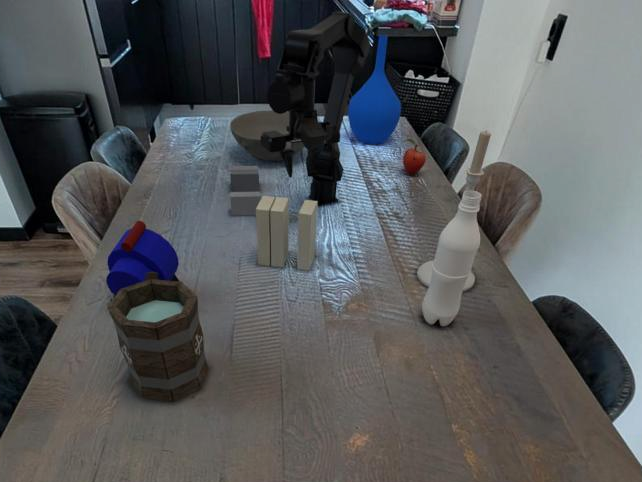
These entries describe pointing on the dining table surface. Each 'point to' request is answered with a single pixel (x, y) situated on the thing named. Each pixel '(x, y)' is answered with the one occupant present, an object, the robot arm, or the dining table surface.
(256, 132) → the bowl
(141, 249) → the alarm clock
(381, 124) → the vase
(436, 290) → the water bottle
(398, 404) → the dining table surface
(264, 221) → the white books
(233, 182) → the grey books
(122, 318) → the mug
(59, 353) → the dining table surface
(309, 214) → the cream rectangular block
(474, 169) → the candlestick
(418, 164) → the apple
